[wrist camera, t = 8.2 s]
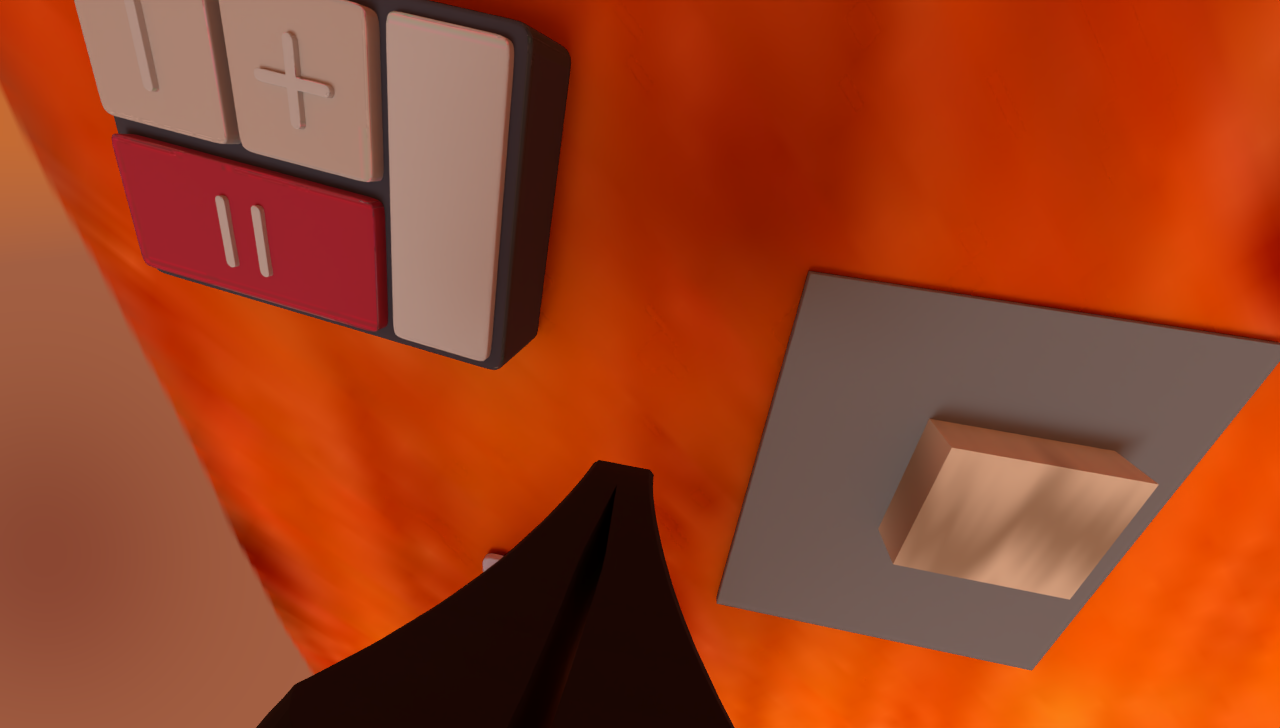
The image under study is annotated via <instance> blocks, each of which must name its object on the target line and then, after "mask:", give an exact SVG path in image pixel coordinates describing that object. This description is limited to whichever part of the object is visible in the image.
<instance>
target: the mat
mask: <svg viewBox="0 0 1280 728" xmlns="http://www.w3.org/2000/svg"><path fill="white" fill-rule="evenodd" d="M1279 361H1280V343H1279V342H1273V341H1266V340H1260V339H1253V338H1247V337H1240V336H1233V335H1227V334H1220V333H1214V332H1207V331H1201V330H1194V329H1188V328H1181V327H1174V326H1168V325H1161V324H1155V323H1148V322H1142V321H1135V320H1128V319H1122V318H1115V317H1109V316H1102V315H1096V314H1089V313H1082V312H1076V311H1069V310H1063V309H1056V308H1050V307H1043V306H1036V305H1030V304H1023V303H1017V302H1010V301H1004V300H997V299H990V298H984V297H977V296H971V295H964V294H958V293H951V292H945V291H938V290H931V289H925V288H918V287H912V286H905V285H899V284H892V283H885V282H879V281H872V280H866V279H859V278H853V277H846V276H839V275H833V274H826V273H820V272H813V271H809V272H808V275H807V279H806V282H805V286H804V289H803V293H802V296H801V300H800V303H799V307H798V311H797V314H796V318H795V321H794V325H793V328H792V332H791V335H790V339H789V342H788V346H787V349H786V353H785V357H784V360H783V364H782V367H781V371H780V374H779V378H778V381H777V385H776V388H775V392H774V396H773V399H772V403H771V406H770V410H769V413H768V417H767V420H766V424H765V427H764V431H763V434H762V438H761V442H760V445H759V449H758V452H757V456H756V459H755V463H754V466H753V470H752V473H751V477H750V481H749V484H748V488H747V491H746V495H745V498H744V502H743V505H742V509H741V512H740V516H739V519H738V523H737V527H736V530H735V534H734V537H733V541H732V544H731V548H730V551H729V555H728V558H727V562H726V566H725V569H724V573H723V576H722V580H721V583H720V587H719V590H718V594H717V604H722V605H726V606H731V607H736V608H741V609H745V610H750V611H755V612H759V613H764V614H769V615H773V616H778V617H783V618H788V619H792V620H797V621H802V622H806V623H811V624H816V625H820V626H825V627H830V628H835V629H839V630H844V631H849V632H853V633H858V634H863V635H868V636H872V637H877V638H882V639H886V640H891V641H896V642H900V643H905V644H910V645H915V646H919V647H924V648H929V649H933V650H938V651H943V652H947V653H952V654H957V655H962V656H966V657H971V658H976V659H980V660H985V661H990V662H994V663H999V664H1004V665H1009V666H1013V667H1018V668H1023V669H1027V670H1033V669H1034V667H1035V666H1036V665H1037V664H1038V662H1039V661H1040V660H1041V659H1042V657H1043V656H1044V655H1045V654H1046V652H1047V651H1048V650H1049V649H1050V647H1051V646H1052V645H1053V644H1054V642H1055V641H1056V640H1057V639H1058V637H1059V636H1060V635H1061V634H1062V632H1063V631H1064V630H1065V629H1066V627H1067V626H1068V625H1069V624H1070V622H1071V621H1072V620H1073V619H1074V617H1075V616H1076V615H1077V614H1078V612H1079V611H1080V610H1081V609H1082V607H1083V606H1084V605H1085V604H1086V602H1087V601H1088V600H1089V599H1090V597H1091V596H1092V595H1093V594H1094V592H1095V591H1096V590H1097V589H1098V587H1099V586H1100V585H1101V584H1102V582H1103V581H1104V580H1105V579H1106V577H1107V576H1108V575H1109V574H1110V572H1111V571H1112V570H1113V569H1114V567H1115V566H1116V565H1117V564H1118V562H1119V561H1120V560H1121V559H1122V557H1123V556H1124V555H1125V554H1126V552H1127V551H1128V550H1129V549H1130V547H1131V546H1132V545H1133V544H1134V542H1135V541H1136V540H1137V539H1138V537H1139V536H1140V535H1141V534H1142V532H1143V531H1144V530H1145V529H1146V527H1147V526H1148V525H1149V524H1150V522H1151V521H1152V520H1153V519H1154V517H1155V516H1156V515H1157V514H1158V512H1159V511H1160V510H1161V509H1162V508H1163V506H1164V505H1165V504H1166V503H1167V501H1168V500H1169V499H1170V498H1171V496H1172V495H1173V494H1174V493H1175V491H1176V490H1177V489H1178V488H1179V486H1180V485H1181V484H1182V483H1183V481H1184V480H1185V479H1186V478H1187V476H1188V475H1189V474H1190V473H1191V471H1192V470H1193V469H1194V468H1195V466H1196V465H1197V464H1198V463H1199V461H1200V460H1201V459H1202V458H1203V456H1204V455H1205V454H1206V453H1207V451H1208V450H1209V449H1210V448H1211V446H1212V445H1213V444H1214V443H1215V441H1216V440H1217V439H1218V438H1219V436H1220V435H1221V434H1222V433H1223V431H1224V430H1225V429H1226V428H1227V426H1228V425H1229V424H1230V423H1231V421H1232V420H1233V419H1234V418H1235V416H1236V415H1237V414H1238V413H1239V411H1240V410H1241V409H1242V408H1243V406H1244V405H1245V404H1246V403H1247V401H1248V400H1249V399H1250V398H1251V396H1252V395H1253V394H1254V393H1255V391H1256V390H1257V389H1258V388H1259V386H1260V385H1261V384H1262V383H1263V381H1264V380H1265V379H1266V378H1267V376H1268V375H1269V374H1270V373H1271V371H1272V370H1273V369H1274V368H1275V366H1276V365H1277V364H1278V363H1279ZM929 419H934V420H939V421H945V422H951V423H957V424H962V425H968V426H974V427H980V428H985V429H991V430H997V431H1003V432H1008V433H1014V434H1020V435H1026V436H1031V437H1037V438H1043V439H1049V440H1054V441H1060V442H1066V443H1072V444H1077V445H1083V446H1089V447H1095V448H1100V449H1106V450H1112V451H1116V452H1117V453H1118V454H1120V455H1121V456H1122V457H1124V458H1125V459H1126V460H1128V461H1129V462H1130V463H1131V464H1133V465H1134V466H1135V467H1137V468H1138V469H1139V470H1141V471H1142V472H1143V473H1145V474H1146V475H1147V476H1148V477H1150V478H1151V479H1152V480H1154V481H1155V482H1156V483H1158V484H1159V485H1158V486H1157V488H1156V489H1155V490H1154V492H1153V493H1152V494H1151V496H1150V497H1149V498H1148V499H1147V501H1146V502H1145V503H1144V505H1143V506H1142V507H1141V508H1140V510H1139V511H1138V512H1137V514H1136V515H1135V516H1134V517H1133V519H1132V520H1131V521H1130V523H1129V524H1128V525H1127V526H1126V528H1125V529H1124V530H1123V532H1122V533H1121V534H1120V536H1119V537H1118V538H1117V539H1116V541H1115V542H1114V543H1113V545H1112V546H1111V547H1110V548H1109V550H1108V551H1107V552H1106V554H1105V555H1104V556H1103V557H1102V559H1101V560H1100V561H1099V563H1098V564H1097V565H1096V566H1095V568H1094V569H1093V570H1092V572H1091V573H1090V574H1089V576H1088V577H1087V578H1086V579H1085V581H1084V582H1083V583H1082V585H1081V586H1080V587H1079V588H1078V590H1077V591H1076V592H1075V594H1074V595H1073V596H1072V597H1071V599H1070V600H1069V599H1064V598H1059V597H1054V596H1049V595H1044V594H1039V593H1034V592H1029V591H1024V590H1019V589H1014V588H1009V587H1004V586H999V585H994V584H989V583H984V582H979V581H974V580H969V579H964V578H959V577H954V576H949V575H944V574H939V573H934V572H929V571H924V570H919V569H914V568H909V567H904V566H899V565H894V564H893V563H892V561H891V558H890V556H889V554H888V551H887V549H886V547H885V544H884V542H883V539H882V537H881V535H880V532H879V530H878V528H879V526H880V524H881V522H882V520H883V518H884V515H885V513H886V511H887V509H888V507H889V505H890V502H891V500H892V498H893V496H894V494H895V492H896V489H897V487H898V485H899V483H900V481H901V479H902V476H903V474H904V472H905V470H906V468H907V466H908V464H909V461H910V459H911V457H912V455H913V453H914V451H915V448H916V446H917V444H918V442H919V440H920V438H921V435H922V433H923V431H924V429H925V427H926V425H927V422H928V420H929Z"/></svg>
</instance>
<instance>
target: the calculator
mask: <svg viewBox="0 0 1280 728" xmlns="http://www.w3.org/2000/svg"><path fill="white" fill-rule="evenodd" d="M74 1H75V5H76V9H77V13H78V16H79V20H80V24H81V28H82V31H83V35H84V39H85V43H86V46H87V50H88V54H89V58H90V62H91V65H92V69H93V73H94V77H95V80H96V84H97V88H98V92H99V95H100V99H101V102H102V105H103V107H104V109H105V110H106V111H107V112H108V113H109V114H112V115H114V118H115V122H116V126H117V130H118V133H119V134H113V135H112V144H113V148H114V152H115V156H116V159H117V163H118V167H119V171H120V174H121V178H122V182H123V186H124V189H125V193H126V197H127V201H128V204H129V208H130V212H131V216H132V219H133V223H134V227H135V231H136V234H137V238H138V242H139V246H140V249H141V253H142V256H143V259H144V261H145V263H146V264H148V265H149V266H152V267H154V268H157V269H158V270H159V271H161V272H163V273H166V274H169V275H172V276H175V277H179V278H182V279H185V280H189V281H192V282H196V283H199V284H202V285H206V286H209V287H213V288H216V289H219V290H223V291H226V292H230V293H233V294H236V295H240V296H243V297H246V298H250V299H253V300H257V301H260V302H263V303H267V304H270V305H274V306H277V307H280V308H284V309H287V310H290V311H294V312H297V313H301V314H304V315H307V316H311V317H314V318H318V319H321V320H324V321H328V322H331V323H335V324H338V325H341V326H345V327H348V328H351V329H355V330H358V331H362V332H365V333H368V334H372V335H375V336H379V337H382V338H385V339H389V340H392V341H395V342H399V343H402V344H406V345H409V346H412V347H416V348H419V349H423V350H426V351H429V352H433V353H436V354H440V355H443V356H446V357H450V358H453V359H456V360H460V361H463V362H467V363H470V364H473V365H477V366H480V367H484V368H487V369H491V370H497V369H499V368H501V367H502V366H503V365H504V364H505V363H507V362H508V361H509V360H510V359H511V358H512V357H513V356H515V355H516V354H517V353H518V352H519V351H520V350H521V349H522V348H523V347H525V346H526V345H527V344H528V343H529V342H530V341H531V340H532V339H533V338H535V336H536V335H537V330H538V323H539V315H540V307H541V299H542V291H543V283H544V275H545V267H546V259H547V251H548V243H549V235H550V227H551V219H552V211H553V203H554V195H555V187H556V179H557V171H558V163H559V155H560V147H561V139H562V131H563V123H564V115H565V107H566V99H567V91H568V84H569V76H570V66H571V59H570V55H569V53H568V51H567V50H566V49H565V48H564V47H563V46H561V45H560V44H558V43H557V42H555V41H553V40H552V39H550V38H548V37H547V36H545V35H543V34H542V33H540V32H538V31H537V30H535V29H533V28H531V27H530V26H528V25H526V24H524V23H522V22H520V21H517V20H513V19H509V18H505V17H500V16H496V15H491V14H487V13H483V12H478V11H474V10H469V9H465V8H460V7H456V6H452V5H447V4H443V3H438V2H434V1H429V0H74Z"/></svg>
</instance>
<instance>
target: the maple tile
mask: <svg viewBox="0 0 1280 728" xmlns="http://www.w3.org/2000/svg"><path fill="white" fill-rule="evenodd" d="M1158 485H1159V484H1158V483H1156V482H1155V481H1154V480H1152V479H1151V478H1150V477H1148V476H1147V475H1146V474H1145V473H1143V472H1142V471H1141V470H1139V469H1138V468H1137V467H1135V466H1134V465H1133V464H1131V463H1130V462H1129V461H1128V460H1126V459H1125V458H1124V457H1122V456H1121V455H1120V454H1118V453H1117V452H1116V451H1112V450H1106V449H1100V448H1095V447H1089V446H1083V445H1077V444H1072V443H1066V442H1060V441H1054V440H1049V439H1043V438H1037V437H1031V436H1026V435H1020V434H1014V433H1008V432H1003V431H997V430H991V429H985V428H980V427H974V426H968V425H962V424H957V423H951V422H945V421H939V420H934V419H929V420H928V422H927V425H926V427H925V429H924V431H923V433H922V435H921V438H920V440H919V442H918V444H917V446H916V448H915V451H914V453H913V455H912V457H911V459H910V461H909V464H908V466H907V468H906V470H905V472H904V474H903V476H902V479H901V481H900V483H899V485H898V487H897V489H896V492H895V494H894V496H893V498H892V500H891V502H890V505H889V507H888V509H887V511H886V513H885V515H884V518H883V520H882V522H881V524H880V526H879V528H878V530H879V532H880V535H881V537H882V539H883V542H884V544H885V547H886V549H887V551H888V554H889V556H890V558H891V561H892V563H893V564H894V565H899V566H904V567H909V568H914V569H919V570H924V571H929V572H934V573H939V574H944V575H949V576H954V577H959V578H964V579H969V580H974V581H979V582H984V583H989V584H994V585H999V586H1004V587H1009V588H1014V589H1019V590H1024V591H1029V592H1034V593H1039V594H1044V595H1049V596H1054V597H1059V598H1064V599H1069V600H1070V599H1071V597H1072V596H1073V595H1074V594H1075V592H1076V591H1077V590H1078V588H1079V587H1080V586H1081V585H1082V583H1083V582H1084V581H1085V579H1086V578H1087V577H1088V576H1089V574H1090V573H1091V572H1092V570H1093V569H1094V568H1095V566H1096V565H1097V564H1098V563H1099V561H1100V560H1101V559H1102V557H1103V556H1104V555H1105V554H1106V552H1107V551H1108V550H1109V548H1110V547H1111V546H1112V545H1113V543H1114V542H1115V541H1116V539H1117V538H1118V537H1119V536H1120V534H1121V533H1122V532H1123V530H1124V529H1125V528H1126V526H1127V525H1128V524H1129V523H1130V521H1131V520H1132V519H1133V517H1134V516H1135V515H1136V514H1137V512H1138V511H1139V510H1140V508H1141V507H1142V506H1143V505H1144V503H1145V502H1146V501H1147V499H1148V498H1149V497H1150V496H1151V494H1152V493H1153V492H1154V490H1155V489H1156V488H1157V486H1158Z"/></svg>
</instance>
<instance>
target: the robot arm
mask: <svg viewBox="0 0 1280 728" xmlns="http://www.w3.org/2000/svg"><path fill="white" fill-rule="evenodd" d="M653 476H654V475H653V473H652V472H651V471H650V470H648V469H643V468H637V467H632V466H627V465H622V464H617V463H611V462H606V461H601V460H598V461H597V462H595V463H594V464H593V465H592V466H591V468H590V469H589V471H588V472H587V473H586V474H585V476H584V477H583V478H582V479H581V481H580V482H579V483H578V484H577V485H576V486H575V488H574V489H573V490H572V491H571V492H570V493H569V494H568V496H567V497H566V498H565V499H564V500H563V501H562V502H561V503H560V504H559V505H558V506H557V507H556V508H555V509H554V510H553V511H552V512H551V513H550V514H549V516H548V517H546V518H545V519H544V520H543V521H542V522H541V523H540V524H539V525H538V526H537V527H536V528H535V529H534V530H533V531H532V532H531V533H529V534H528V535H527V536H526V537H525V538H524V539H523V540H522V541H521V542H520V543H519V544H518V545H516V546H515V547H514V548H513V549H512V550H511V551H509V552H508V553H507V554H506V555H505V556H503V555H498V554H493V553H490V554H487V555H486V556H485V558H484V560H483V573H482V574H481V575H479V576H478V577H476V578H475V579H474V580H472V581H471V582H470V583H468V584H467V585H465V586H464V587H463V588H461V589H460V590H458V591H457V592H456V593H454V594H453V595H451V596H450V597H448V598H447V599H445V600H444V601H442V602H441V603H439V604H438V605H436V606H435V607H433V608H432V609H430V610H429V611H427V612H425V613H424V614H422V615H420V616H419V617H417V618H415V619H414V620H412V621H411V622H409V623H407V624H406V625H404V626H402V627H401V628H399V629H397V630H396V631H394V632H392V633H391V634H389V635H387V636H386V637H384V638H382V639H381V640H379V641H377V642H375V643H374V644H372V645H370V646H368V647H366V648H365V649H363V650H361V651H359V652H357V653H355V654H353V655H351V656H349V657H347V658H345V659H343V660H342V661H340V662H338V663H336V664H334V665H332V666H330V667H328V668H326V669H324V670H322V671H321V672H319V673H317V674H315V675H313V676H311V677H309V678H307V679H305V680H303V681H301V682H299V683H297V684H295V685H294V686H293V687H292V688H291V690H290V691H289V692H288V693H287V694H286V695H285V697H284V698H283V699H282V700H281V701H280V702H279V703H278V704H277V705H276V706H275V707H274V708H273V709H272V710H271V711H270V712H269V713H268V714H267V716H266V717H265V718H264V719H263V720H262V721H261V723H260V724H259V725H258V726H257V727H256V728H734V726H733V724H732V722H731V720H730V718H729V716H728V714H727V712H726V710H725V709H724V707H723V705H722V703H721V701H720V699H719V697H718V695H717V693H716V690H715V688H714V686H713V684H712V682H711V680H710V677H709V675H708V673H707V671H706V669H705V667H704V664H703V662H702V660H701V658H700V656H699V654H698V652H697V649H696V647H695V645H694V642H693V640H692V637H691V635H690V632H689V630H688V627H687V625H686V622H685V620H684V617H683V614H682V611H681V609H680V606H679V603H678V600H677V597H676V594H675V591H674V588H673V585H672V582H671V579H670V575H669V572H668V568H667V565H666V561H665V557H664V553H663V549H662V545H661V540H660V536H659V531H658V526H657V521H656V515H655V508H654V499H653Z"/></svg>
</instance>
